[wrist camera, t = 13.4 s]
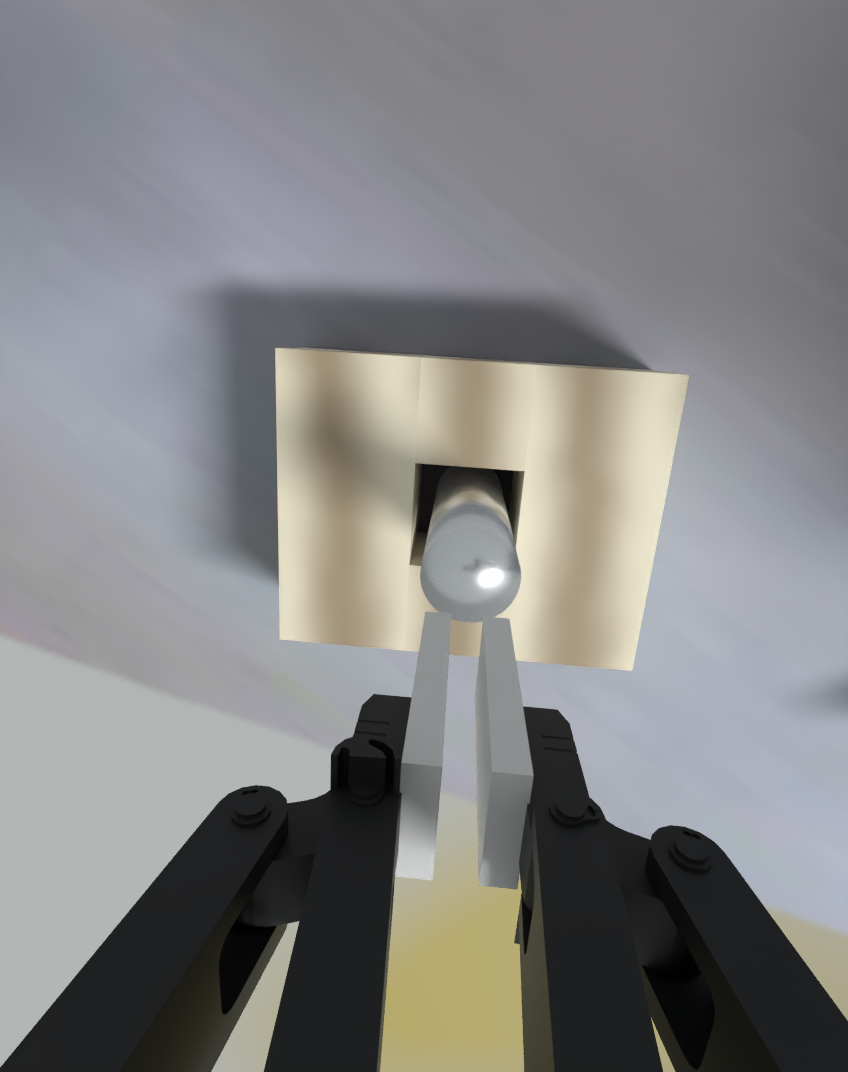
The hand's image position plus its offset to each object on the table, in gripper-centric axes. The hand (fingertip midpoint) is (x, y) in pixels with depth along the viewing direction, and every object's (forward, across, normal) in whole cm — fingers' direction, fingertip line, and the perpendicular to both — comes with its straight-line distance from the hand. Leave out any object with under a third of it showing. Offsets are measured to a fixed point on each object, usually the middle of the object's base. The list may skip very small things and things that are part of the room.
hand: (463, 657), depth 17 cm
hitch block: (+20, 0, 0) cm, 20 cm away
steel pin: (+20, 0, 0) cm, 20 cm away
